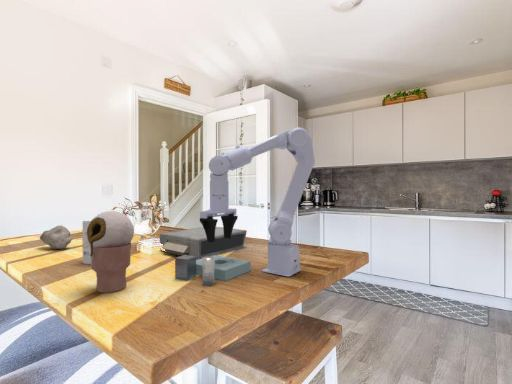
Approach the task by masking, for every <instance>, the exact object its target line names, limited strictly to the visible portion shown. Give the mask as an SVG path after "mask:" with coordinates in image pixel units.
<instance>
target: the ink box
mask: <svg viewBox="0 0 512 384" xmlns="http://www.w3.org/2000/svg"><path fill="white" fill-rule="evenodd" d="M90 221H91V220H83V221H82V232H81V233H82V236H81V237H82V264H85V265H91V257H90V254H91V250H90V247H91V246H90V244H89V242H88V240H87V234H86V231H87V227H88V224H89V223H90Z"/></svg>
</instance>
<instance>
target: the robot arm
mask: <svg viewBox="0 0 512 384" xmlns="http://www.w3.org/2000/svg"><path fill="white" fill-rule="evenodd" d="M275 149H278V150H279V149H280V150H285V149H286V150H287V151H288V152H289V153H290V154H291V155H292V156H293V157H294V159H295V162H296V166H295V169H294V171H293V174H292V176H291V179H290V182H289V184H288V187H287V190H286V193H285V195H284V197H283V199H282V203H281V205H280V207H279V210H278V211H277V213H276V215H275V217H274V219H273V220H272V221H271V222H270V223H269V225H268V233H269V235H270V238H269V239H268V240H267V267H266V268H264V269H262V270H261V271H262V272H263V273H268V274H274V275H279V276H284V277H291V276H293V275H294V274H297V273H298V272H301V270H302V269H301V268H300V266H301V265H300V264H301V263H300V260H301V259H300V257H301V256H300V255H301V253H300V247H299V246H298V245H297V244H294V243H292V240H291V238H292V235H293V234H292V226H293V223H294V216H295V214H296V211H297V208H298V206H299V203H300V201H301V198H302V196H303V194H304V191H305V188H306V186H307V183H308V180H309V178H310V176H311V173H312V170H313V168H314V164H315V161H316V160H315V154H314V148H313V139H312V137H311V135H310V133H309V132H308V131H307V130H306V128H303V127H301V126H300V127H299V126H298V127H294V128H292V129H291V130H284V131H282V132H280V133H277V134H275V135H273V136H271V137H268V138H267V139H265V140H261V141H260V142H258V143H256V144H254V145H251V146H250V147H249V146H245V145H241V146H240V145H236V146H235V149H231V150H230V151H228V152H222V153H220V155H214V156H213V157H211V159H209V162H208V168H209V171H210V173H209V174H210V175H209V209H208V210H201V211H199V222H200V224H201V225H202V226H201V227H203V228H204V230H205V233H206V237H207V241H208V242H214V240H215V228H216V227H217V223H218V221H219V220H218V218H217V217H220V219H221V223H222V227H223V230H224V238H231V234H232V230H233V229H234V226H235V224H236V222H237V220H238V218H239V217H238V215H237V208H229V207H230V206H229V203H230V201H229V179H228V177H229V176H228V172H229V171H232V172H233V171H234V170H237V169H240V168H241V167H244V166H247V165H248V164H251V163H252V160H253V158H255V157H257V156H259V155H262V154H265V153H267V152H270V151H272V150H275ZM216 218H217V219H216Z"/></svg>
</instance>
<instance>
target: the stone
mask: <svg viewBox="0 0 512 384" xmlns="http://www.w3.org/2000/svg"><path fill="white" fill-rule="evenodd" d="M72 237H73V236H72V234H71V232H70V231H69V229H68V228H66V227H65V226H63V225H62V224H61V225H56V226H54V227H52V228H50V229H48V230H44V231H43V232H42V233H41V235H40V237H39V239H40V240H41V241H42V242H43V243H44V244H46V245H48V246H49V247H50V248H52V249H54V250H57V249H58V250H59V249H60V250H61V249H62V250H63V249H65V248H66V247H68V245H69V244H71V243H72V240H73V238H72Z"/></svg>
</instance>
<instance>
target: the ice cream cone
mask: <svg viewBox="0 0 512 384" xmlns="http://www.w3.org/2000/svg"><path fill="white" fill-rule="evenodd" d="M89 221H90V223H89V224H88V227H87V231H86V234H87V240H88V242H89V244H90V246H91V247H90V250H91V254H90V257H91V264H90V266H91V270H92V271H94V272H95V273H96V286H95V287H96V291H97V292H98V293H104V294H105V293H113V292H118V291H119V292H120V291H122V290H124V289H125V288H126V287H127V277H126V276H127V274H126V273H127V268H129V266H131V248H132V240H133V238H134V232H135V229H134V225H133V221H132V220H131V219H130V218H129V217H128V215H126V214H124V213H123V212H119V211H116V210H110V211H107V210H106V211H103V212H100V213H98V214H97V215H96V216H94V217H93V218H92V219H91V220H89Z"/></svg>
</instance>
